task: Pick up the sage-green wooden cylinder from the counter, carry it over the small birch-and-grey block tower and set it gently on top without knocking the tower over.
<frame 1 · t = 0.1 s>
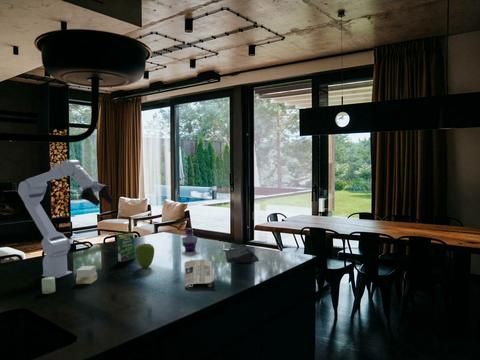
hand: (105, 202, 147), 32 cm above the kitchen island, tool tilted 50°, fingers open, 7 cm apart
sage cylinder: (48, 291, 138), on the kitchen island
tower base block: (87, 282, 150), on the kitchen island
potion bottle: (190, 250, 197), on the kitchen island
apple: (145, 268, 166), on the kitchen island
newspaper: (199, 276, 154), on the kitchen island
dark slate chunk: (240, 257, 182), on the kitchen island
coffee box: (126, 260, 180), on the kitchen island
tower top block: (86, 275, 149), point 3 cm above the kitchen island
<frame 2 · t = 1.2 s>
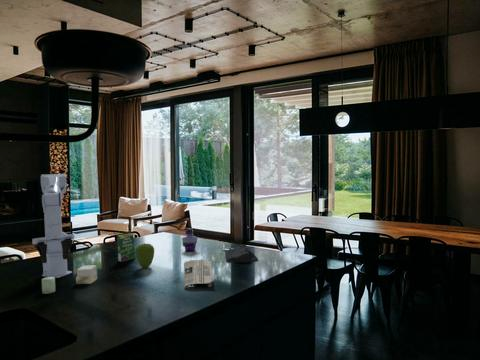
hand: (55, 260, 137), 12 cm above the kitchen island, tool pointing down, fingers open, 7 cm apart
nothing on the kitchen island moved.
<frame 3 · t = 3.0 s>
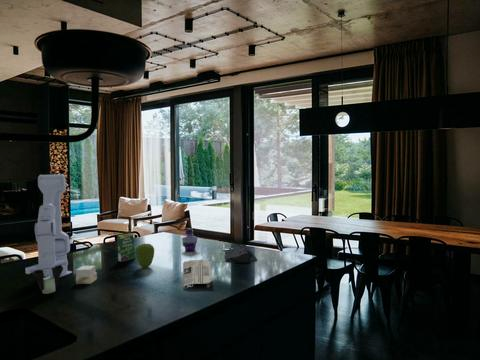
hand: (48, 287, 138), 1 cm above the kitchen island, tool pointing down, fingers closed on sage cylinder, 4 cm apart
sage cylinder: (48, 291, 138), on the kitchen island, touching gripper
tower base block: (86, 281, 149), on the kitchen island, touching tower top block
tower top block: (86, 274, 149), point 3 cm above the kitchen island, touching tower base block
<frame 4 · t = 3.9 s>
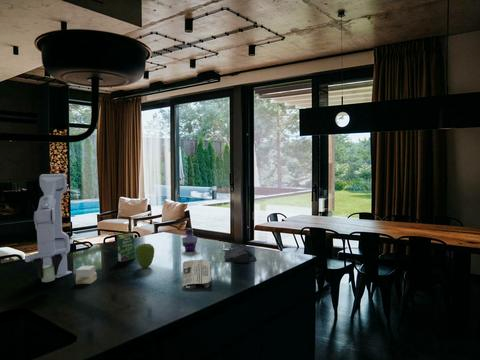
hand: (48, 276, 138), 6 cm above the kitchen island, tool pointing down, fingers closed on sage cylinder, 4 cm apart
sage cylinder: (48, 280, 138), point 4 cm above the kitchen island, touching gripper
everything else where it was.
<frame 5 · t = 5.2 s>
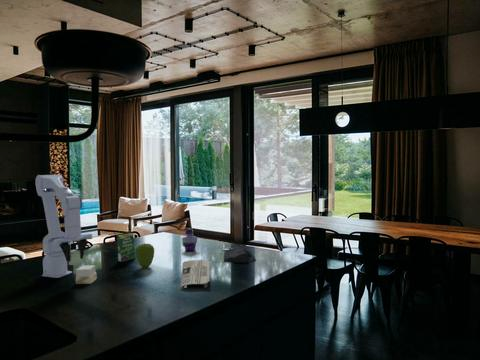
hand: (74, 259, 146), 10 cm above the kitchen island, tool pointing down, fingers closed on sage cylinder, 4 cm apart
sage cylinder: (74, 263, 146), point 8 cm above the kitchen island, touching gripper
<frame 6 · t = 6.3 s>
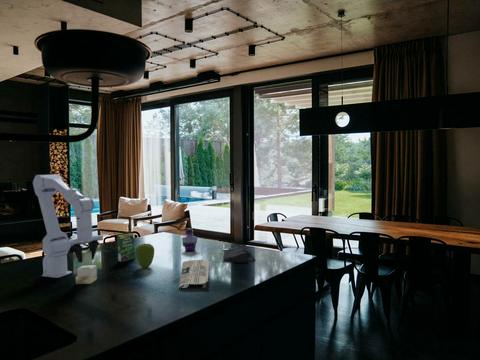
hand: (86, 260, 149), 8 cm above the kitchen island, tool pointing down, fingers closed on sage cylinder, 4 cm apart
sage cylinder: (86, 264, 149), point 7 cm above the kitchen island, touching gripper
when the fingers open (8 cm above the kitchen island, at t = 6.7 s): sage cylinder drops 1 cm, point 6 cm above the kitchen island.
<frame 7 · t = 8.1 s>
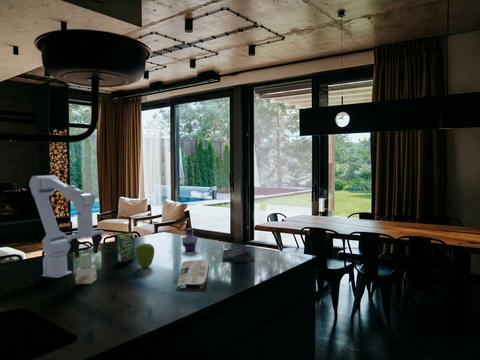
hand: (86, 255, 151), 10 cm above the kitchen island, tool pointing down, fingers open, 7 cm apart
sage cylinder: (86, 266, 149), point 6 cm above the kitchen island, touching gripper
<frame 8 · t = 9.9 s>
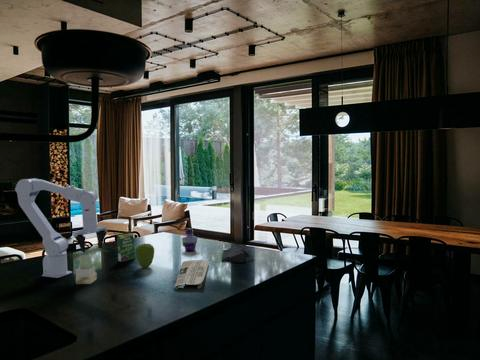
hand: (91, 249, 160), 10 cm above the kitchen island, tool pointing down, fingers open, 7 cm apart
sage cylinder: (85, 267, 149), point 6 cm above the kitchen island, touching tower top block
tower top block: (85, 274, 149), point 3 cm above the kitchen island, touching sage cylinder, tower base block
at the end: sage cylinder 0.2 cm off-centre on the tower top block, point 3.0 cm above the tower top block's base; tower top block 0.4 cm off-centre on the tower base block, point 3.0 cm above the tower base block's base; sage cylinder tilted 0° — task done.
